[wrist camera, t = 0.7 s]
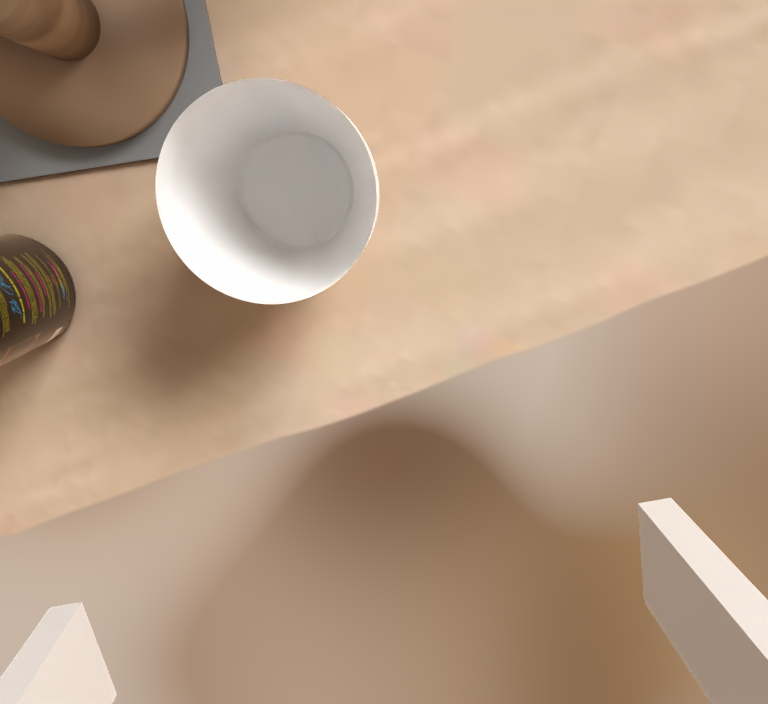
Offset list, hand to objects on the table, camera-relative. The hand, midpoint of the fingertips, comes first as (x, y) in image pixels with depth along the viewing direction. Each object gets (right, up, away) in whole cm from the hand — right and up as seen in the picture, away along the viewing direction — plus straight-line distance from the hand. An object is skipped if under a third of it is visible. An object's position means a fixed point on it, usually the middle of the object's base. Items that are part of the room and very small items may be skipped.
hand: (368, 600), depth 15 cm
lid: (-16, +23, +18) cm, 33 cm away
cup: (-5, +15, +22) cm, 27 cm away
